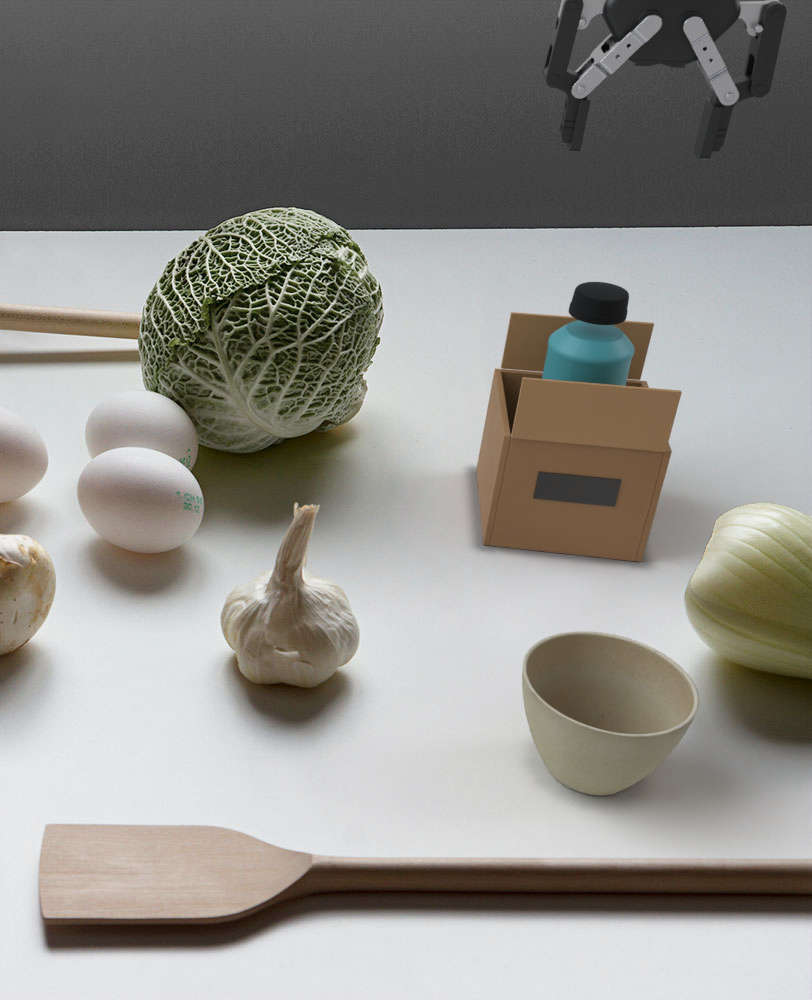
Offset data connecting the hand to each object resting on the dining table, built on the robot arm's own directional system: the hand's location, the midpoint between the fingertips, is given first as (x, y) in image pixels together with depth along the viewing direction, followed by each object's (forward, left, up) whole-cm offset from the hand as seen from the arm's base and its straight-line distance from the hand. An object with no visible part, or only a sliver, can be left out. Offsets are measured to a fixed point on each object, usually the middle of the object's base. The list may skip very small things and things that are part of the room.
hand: (636, 152), depth 91 cm
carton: (0, -1, -31) cm, 31 cm away
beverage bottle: (0, -1, -31) cm, 31 cm away
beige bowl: (+1, +30, -31) cm, 43 cm away
